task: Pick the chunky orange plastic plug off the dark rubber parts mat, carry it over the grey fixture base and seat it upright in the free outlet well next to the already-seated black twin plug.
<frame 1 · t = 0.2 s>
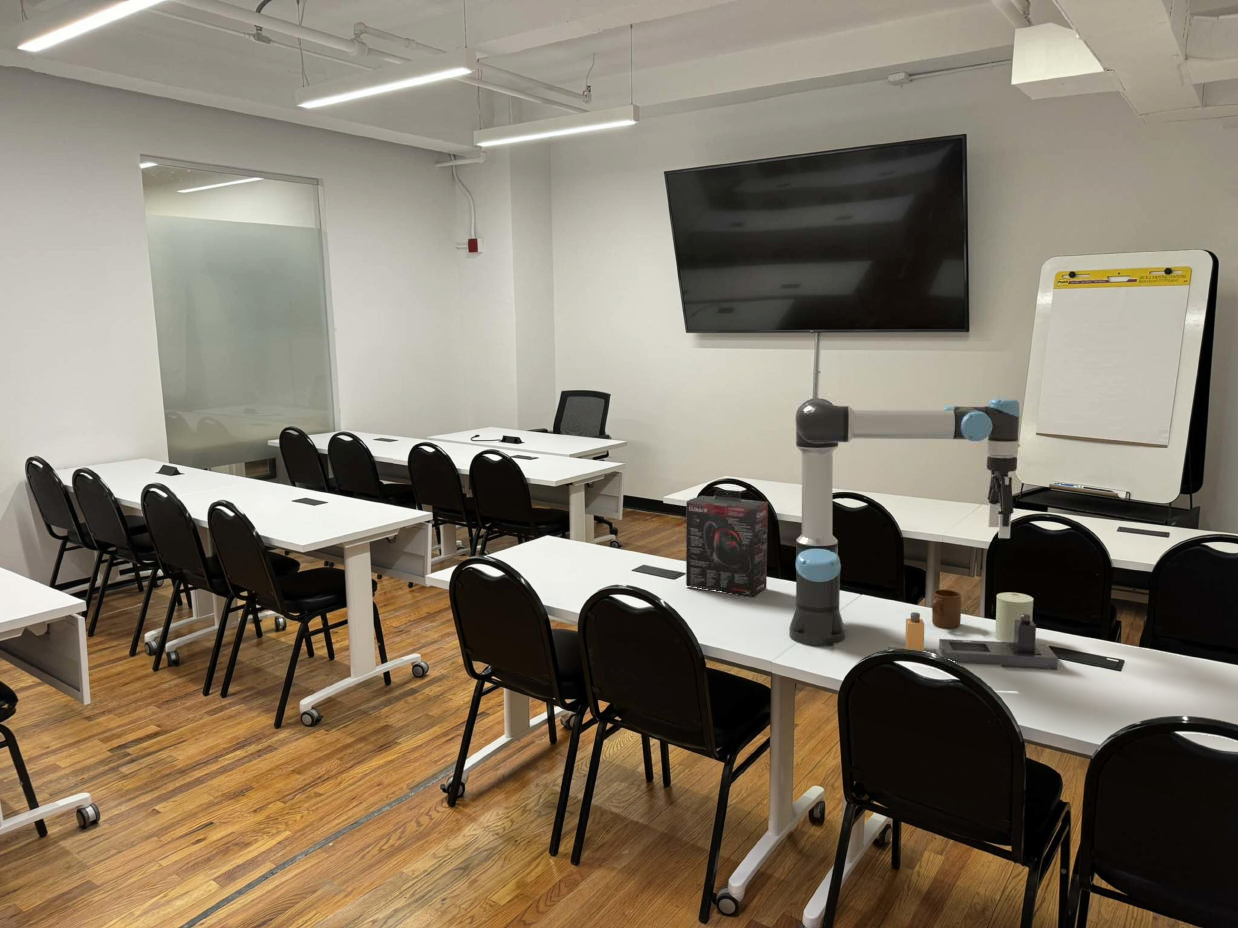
hand: (998, 532, 237), 28 cm above the table, fingers open, 13 cm apart
mug: (942, 627, 243), on the table
grey fixture base: (996, 659, 218), on the table
headset box: (726, 589, 285), on the table
parts mat: (914, 656, 221), on the table
can: (1012, 638, 233), on the table
plug: (914, 654, 221), resting on parts mat
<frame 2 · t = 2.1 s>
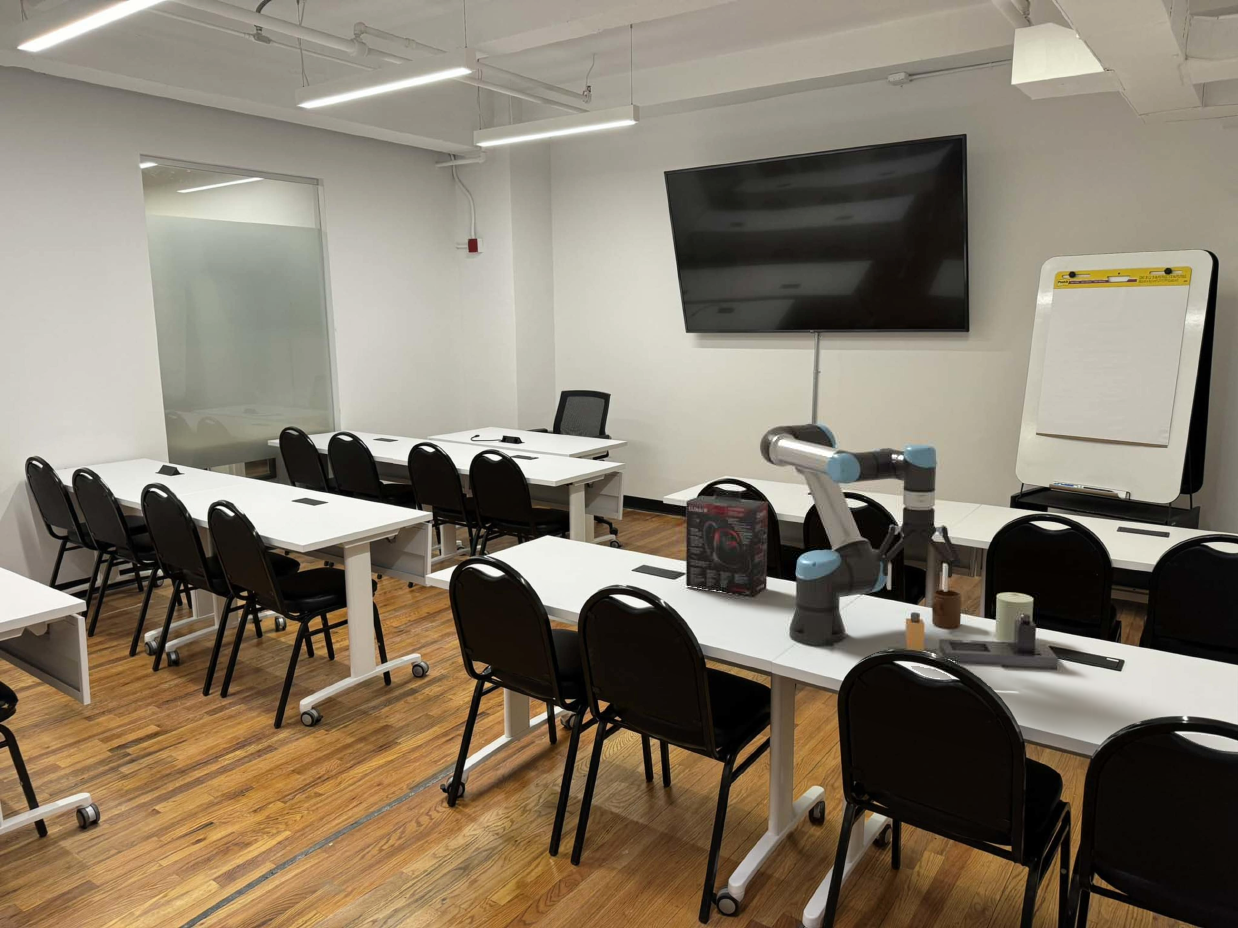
hand: (916, 589, 219), 18 cm above the table, fingers open, 13 cm apart
nothing on the table moved.
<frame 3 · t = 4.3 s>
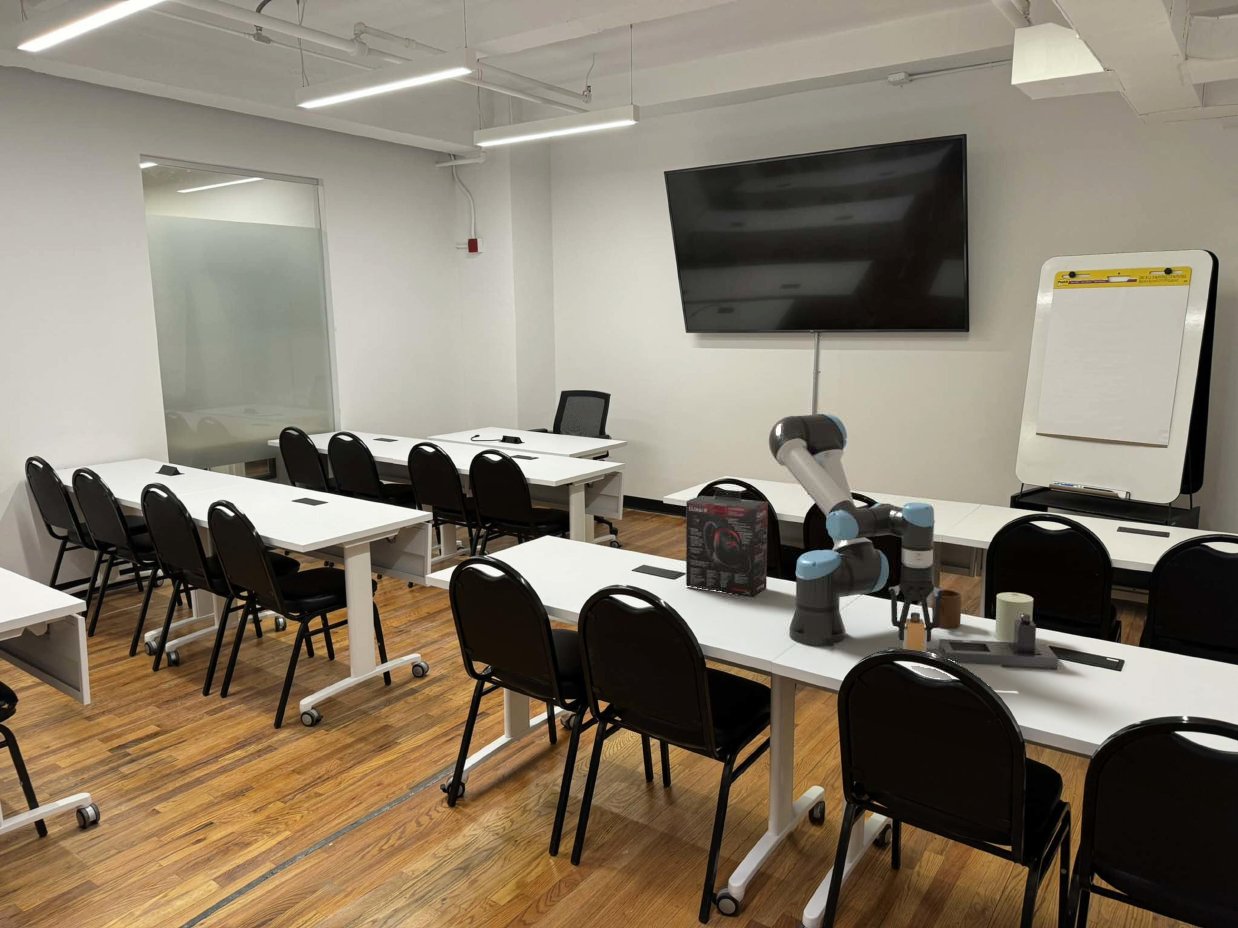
hand: (914, 652, 221), 1 cm above the table, fingers closed on plug, 4 cm apart
plug: (914, 654, 221), point 1 cm above the table, touching gripper, parts mat
everything else where it was.
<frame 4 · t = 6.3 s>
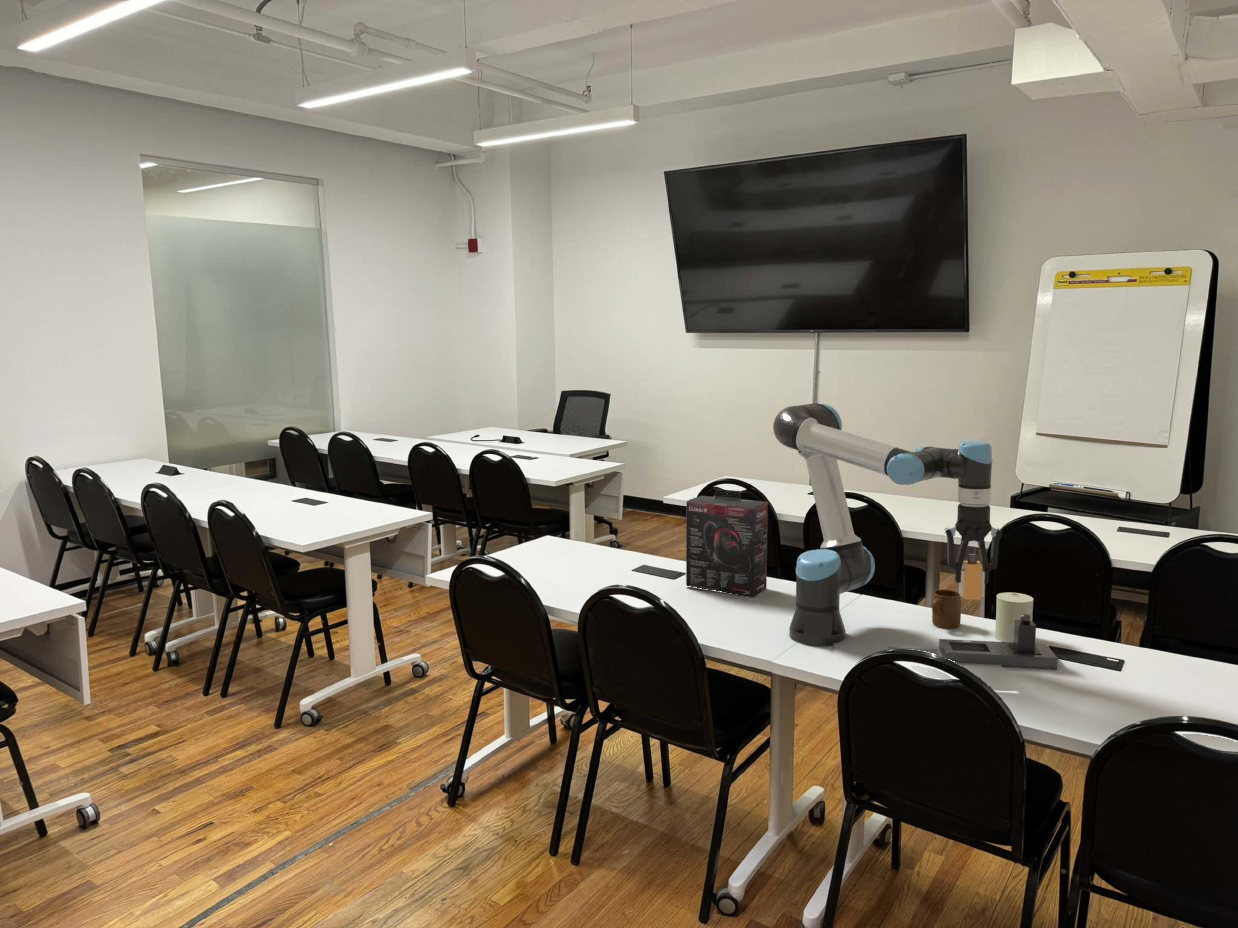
hand: (971, 594, 217), 17 cm above the table, fingers closed on plug, 4 cm apart
plug: (971, 597, 217), point 16 cm above the table, touching gripper
everything else where it was.
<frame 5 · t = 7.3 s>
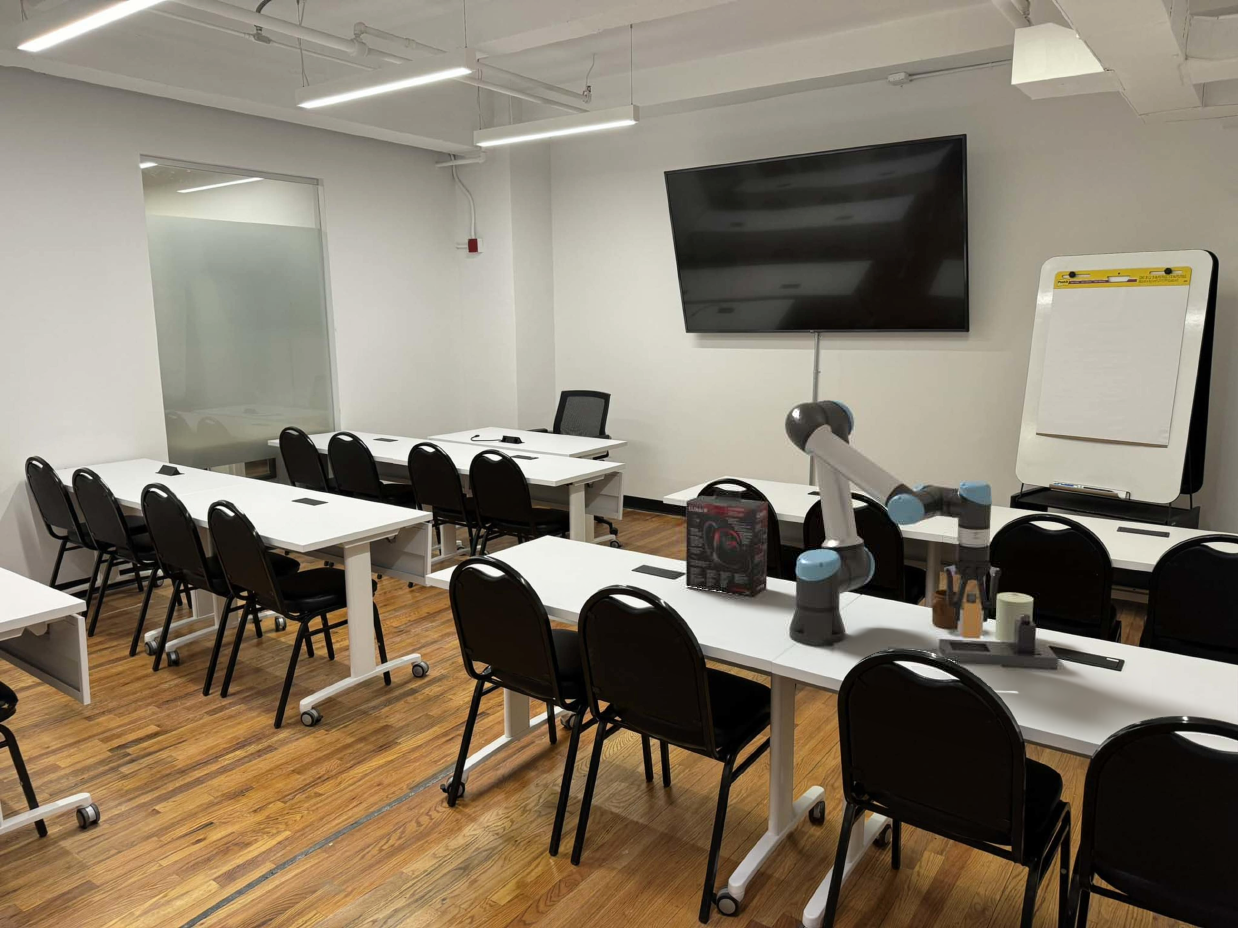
hand: (970, 633, 219), 7 cm above the table, fingers closed on plug, 4 cm apart
plug: (970, 635, 219), point 6 cm above the table, touching gripper
everything else where it was.
when the fingers open (3 cm above the table, at t = 8.2 s): plug drops 2 cm, resting on grey fixture base.
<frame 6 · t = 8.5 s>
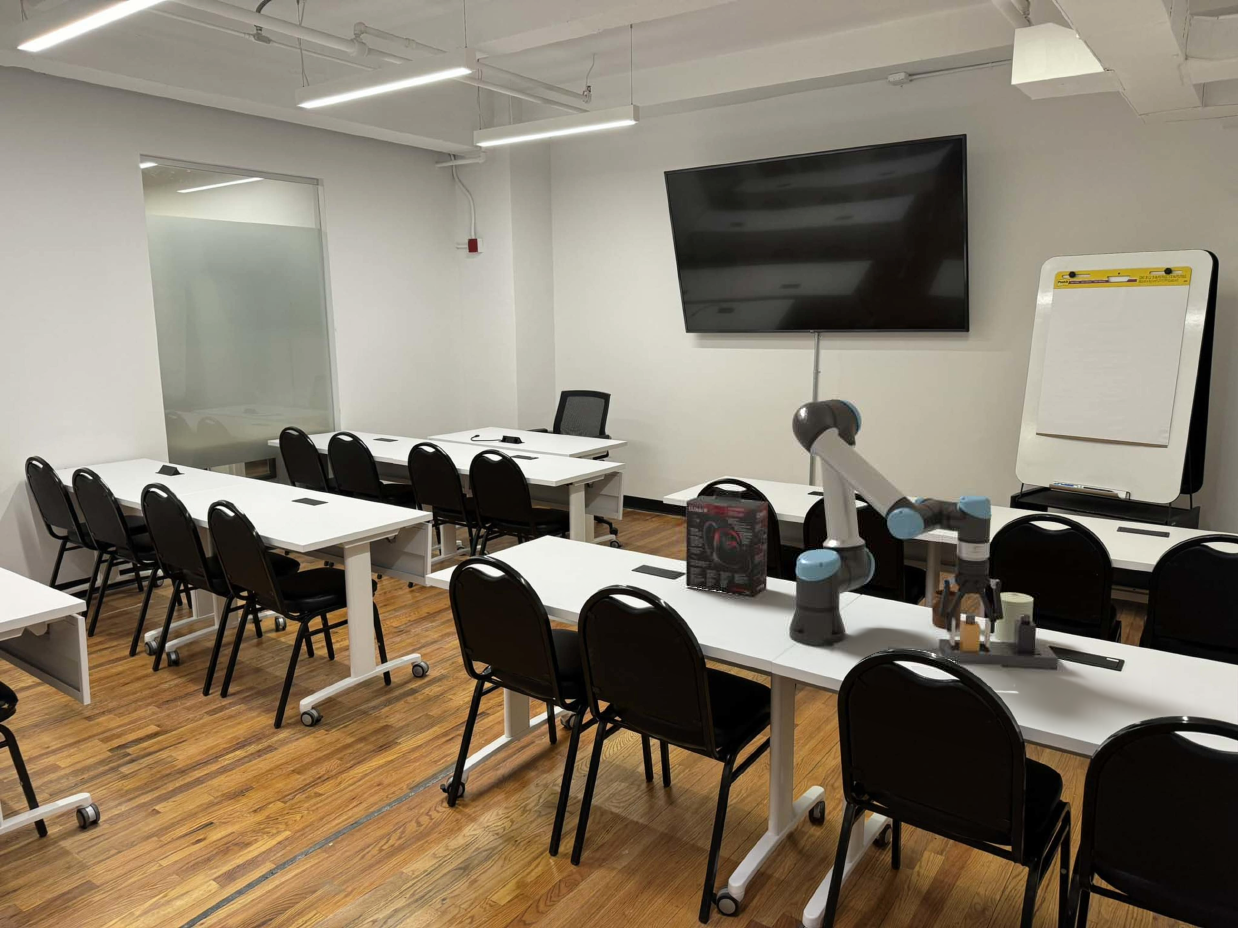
hand: (969, 644, 219), 4 cm above the table, fingers open, 8 cm apart
plug: (968, 656, 220), resting on grey fixture base
everything else where it was.
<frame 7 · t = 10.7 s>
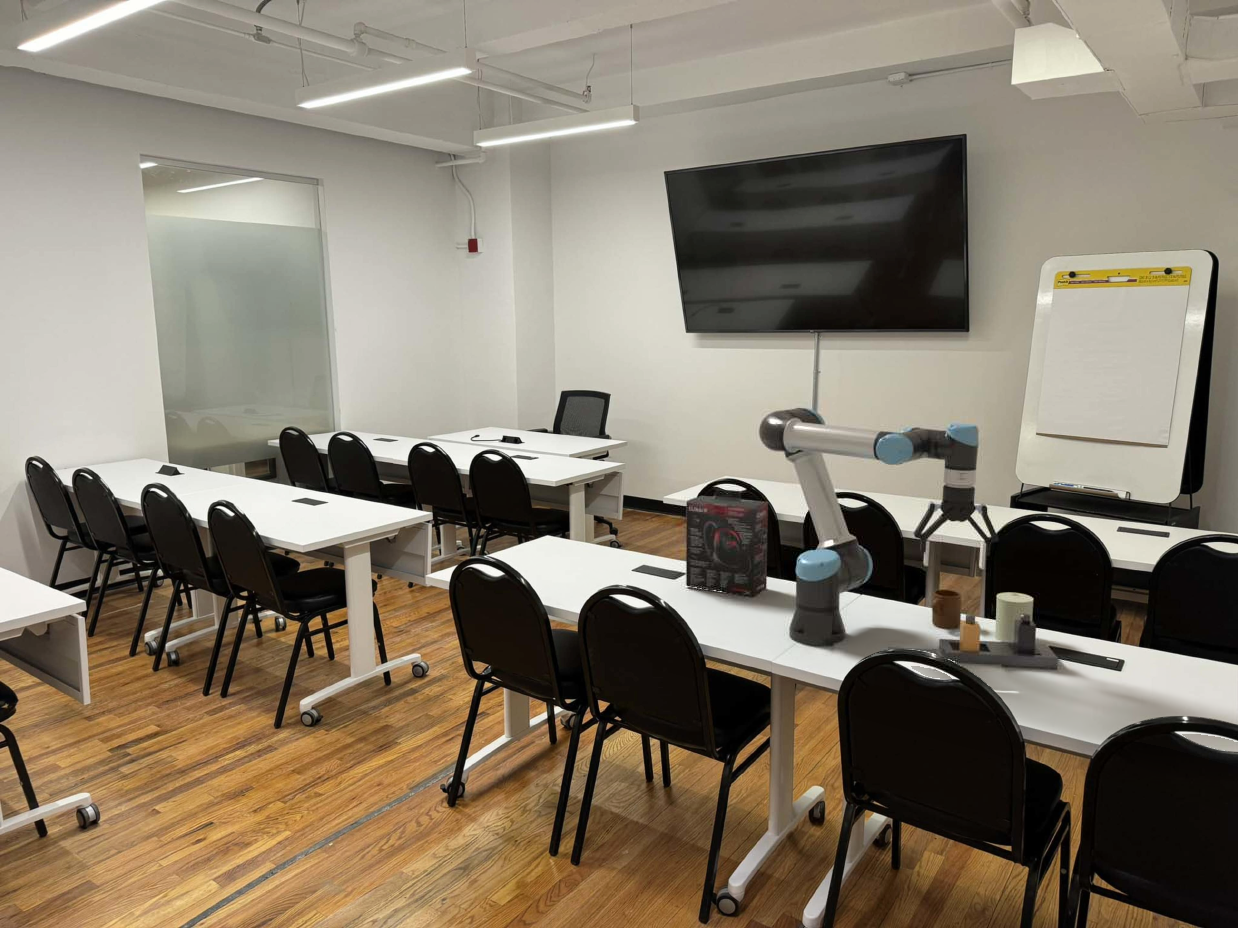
hand: (953, 566, 221), 23 cm above the table, fingers open, 13 cm apart
nothing on the table moved.
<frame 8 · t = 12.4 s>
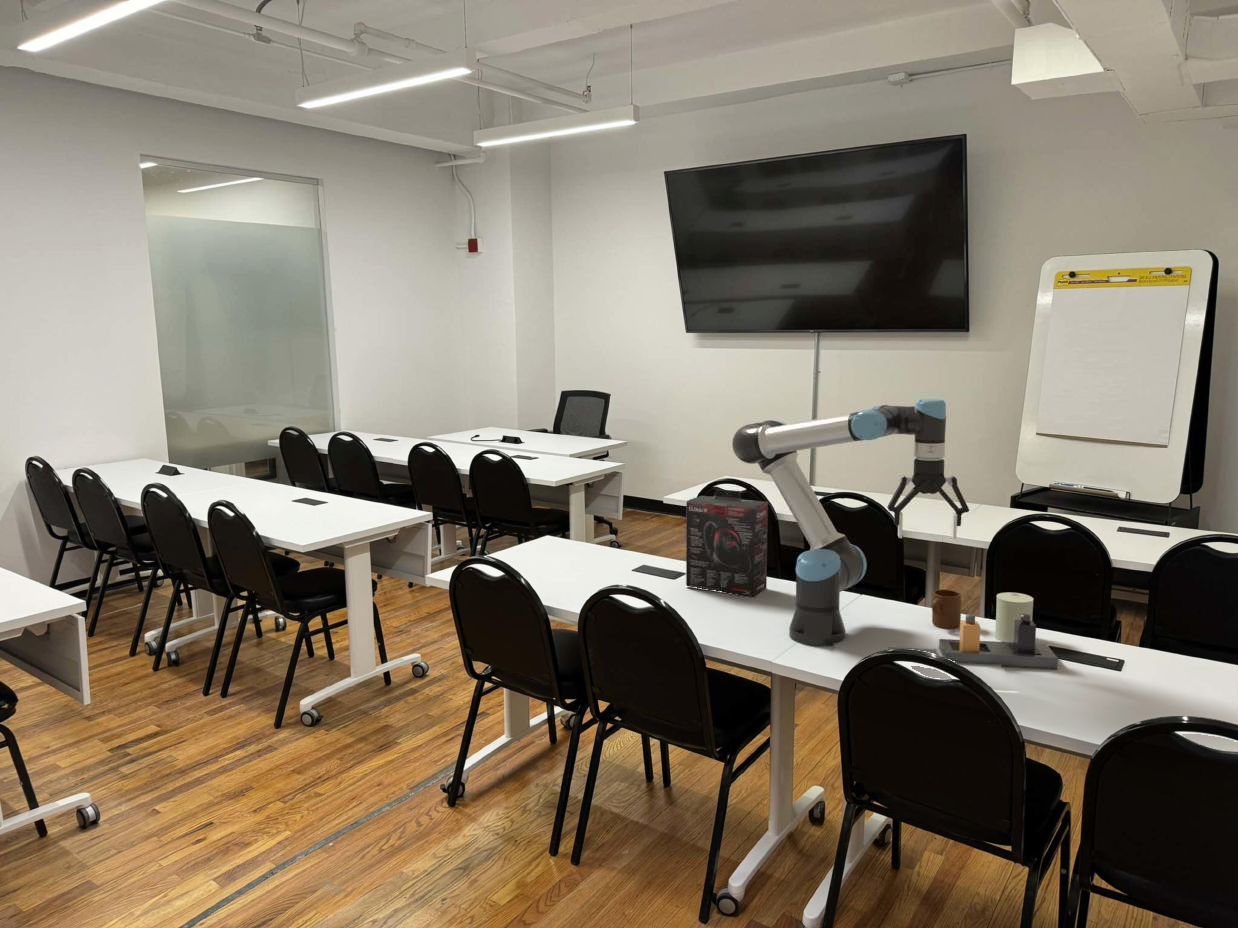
hand: (926, 537, 228), 29 cm above the table, fingers open, 13 cm apart
nothing on the table moved.
at the end: plug 0.1 cm from the target spot on the grey fixture base, point 0.3 cm above the grey fixture base's base; plug tilted 0°; the gripper is holding nothing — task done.
